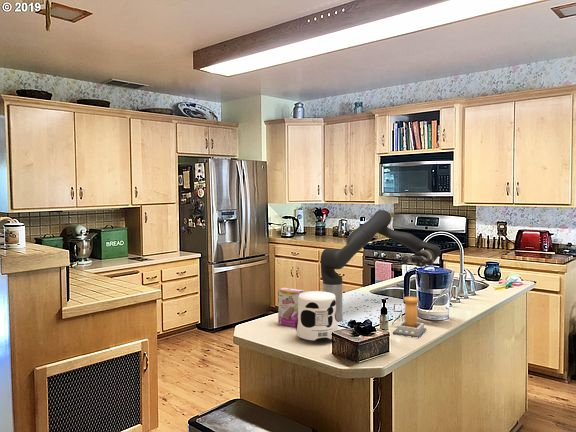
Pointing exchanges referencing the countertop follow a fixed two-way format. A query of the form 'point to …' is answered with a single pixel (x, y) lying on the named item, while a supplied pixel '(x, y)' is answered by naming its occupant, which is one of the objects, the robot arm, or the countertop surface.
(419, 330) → the breaker panel
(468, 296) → the countertop surface
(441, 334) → the countertop surface
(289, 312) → the candy bar box
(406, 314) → the orange flared cylinder
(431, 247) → the robot arm
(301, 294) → the milk container
